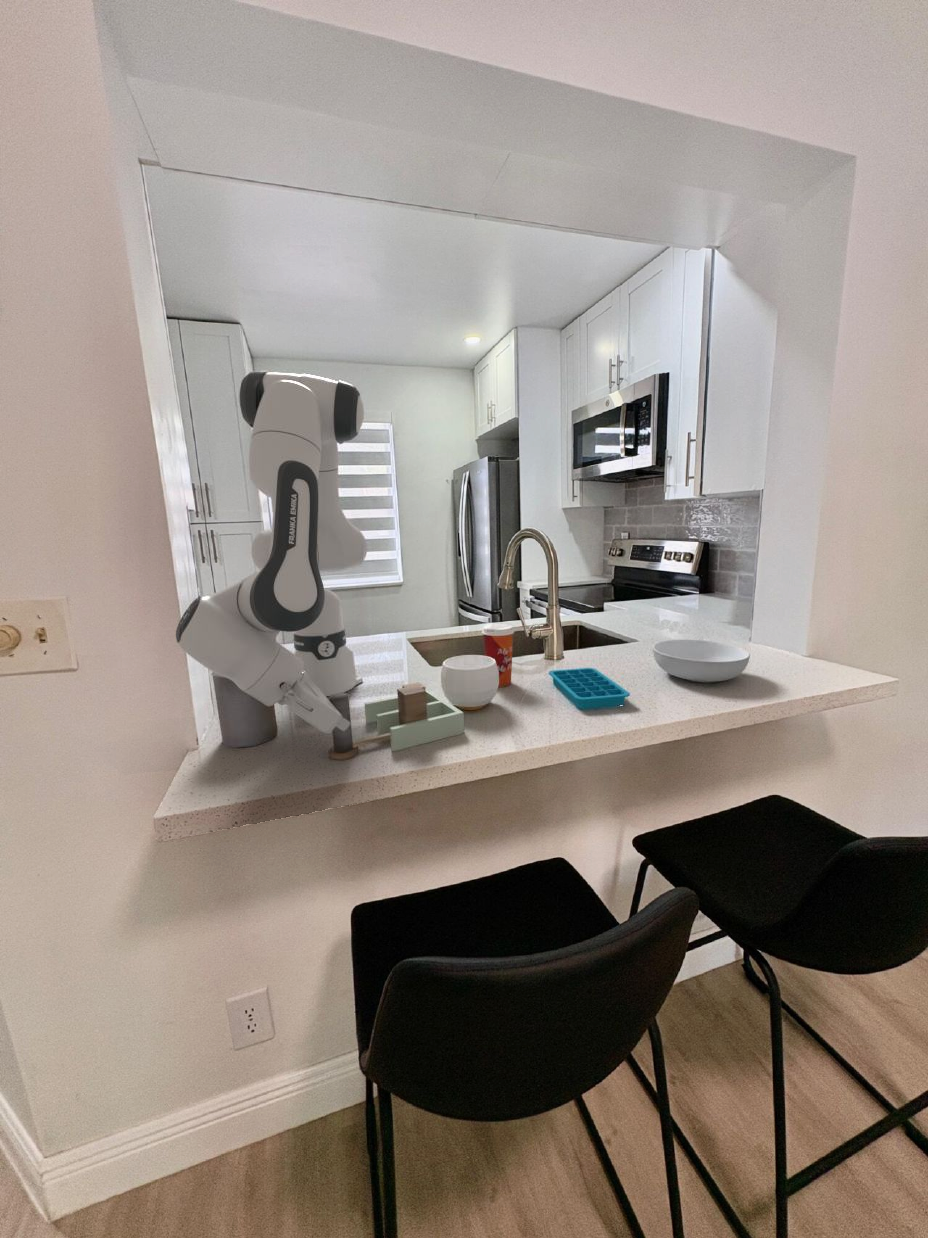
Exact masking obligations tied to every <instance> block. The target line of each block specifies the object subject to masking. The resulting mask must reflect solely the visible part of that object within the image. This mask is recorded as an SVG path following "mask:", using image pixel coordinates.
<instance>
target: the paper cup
mask: <svg viewBox="0 0 928 1238" xmlns="http://www.w3.org/2000/svg"><path fill="white" fill-rule="evenodd" d="M513 628H514V627H513V626H512V625H510V624H506V623H492V624H491V623H490V624H486V625H484V626H483V629H482V630H481V634H482V635H483V646H484V656H487V657H491V658H493V659H495V661H496V664H497V668H498V671H499V686H498V688H503V687H504V688H505V687H508V686H510V685H511V684H512V672H513V671H512V670H513V646H514V645H513V644H514V643H513V642H514V640H513V639H514V634H515V630H514V629H513Z"/></svg>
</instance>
